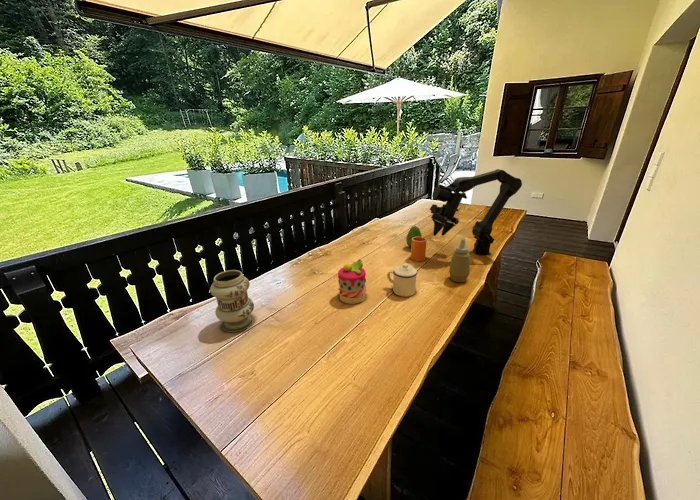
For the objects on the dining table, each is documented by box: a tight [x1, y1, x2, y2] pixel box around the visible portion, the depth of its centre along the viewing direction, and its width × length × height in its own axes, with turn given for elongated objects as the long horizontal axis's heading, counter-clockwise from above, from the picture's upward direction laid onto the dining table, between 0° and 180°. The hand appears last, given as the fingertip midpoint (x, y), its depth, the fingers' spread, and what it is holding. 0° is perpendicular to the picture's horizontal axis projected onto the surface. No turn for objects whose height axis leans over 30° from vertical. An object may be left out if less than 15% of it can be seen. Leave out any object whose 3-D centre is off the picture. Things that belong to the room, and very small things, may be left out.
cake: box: [337, 258, 367, 305], centre depth 112 cm, size 10×11×15 cm
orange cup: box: [410, 236, 428, 262], centre depth 145 cm, size 7×7×10 cm
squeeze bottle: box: [448, 238, 471, 283], centre depth 122 cm, size 8×8×18 cm
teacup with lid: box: [386, 263, 418, 297], centre depth 116 cm, size 12×9×12 cm
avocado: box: [405, 225, 423, 248], centre depth 157 cm, size 8×8×12 cm
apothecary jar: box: [209, 269, 255, 333], centre depth 97 cm, size 12×12×18 cm
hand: (438, 235), depth 144 cm, fingers open, 9 cm apart
